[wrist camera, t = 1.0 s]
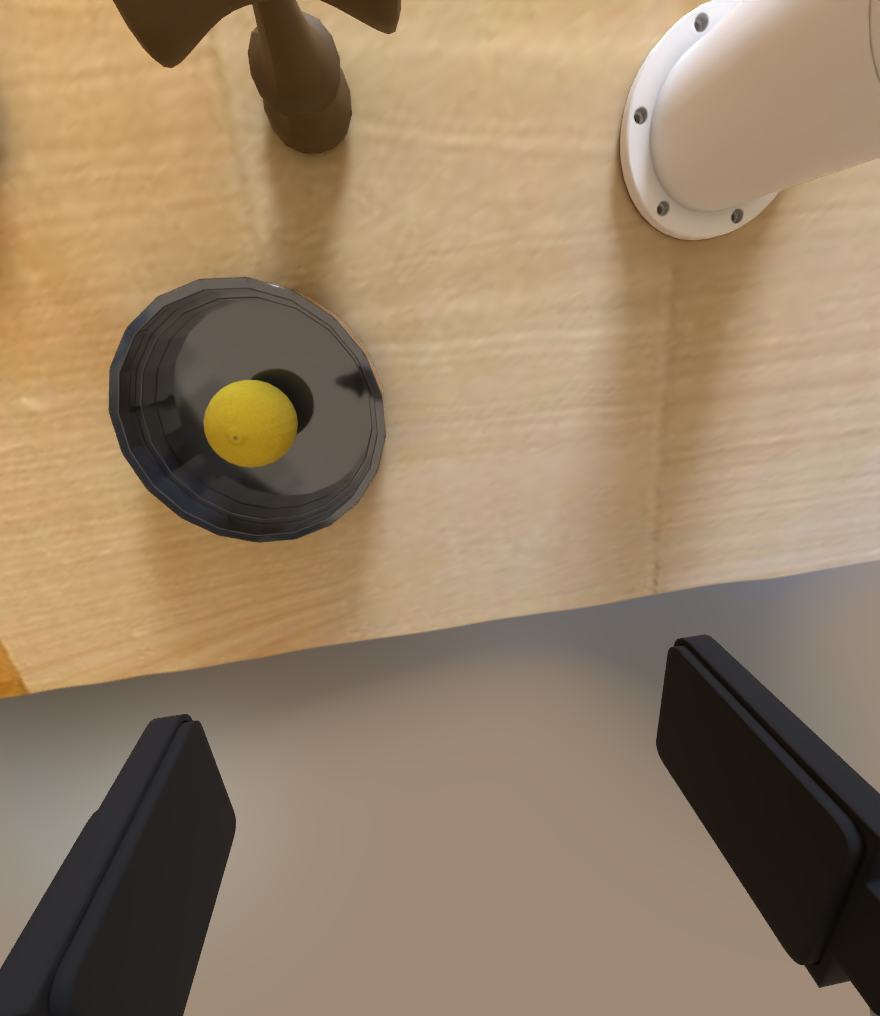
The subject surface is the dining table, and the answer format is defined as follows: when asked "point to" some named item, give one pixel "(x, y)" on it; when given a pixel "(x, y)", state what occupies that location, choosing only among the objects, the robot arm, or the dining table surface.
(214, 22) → the kendama
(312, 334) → the pan
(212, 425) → the lemon
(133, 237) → the dining table surface
